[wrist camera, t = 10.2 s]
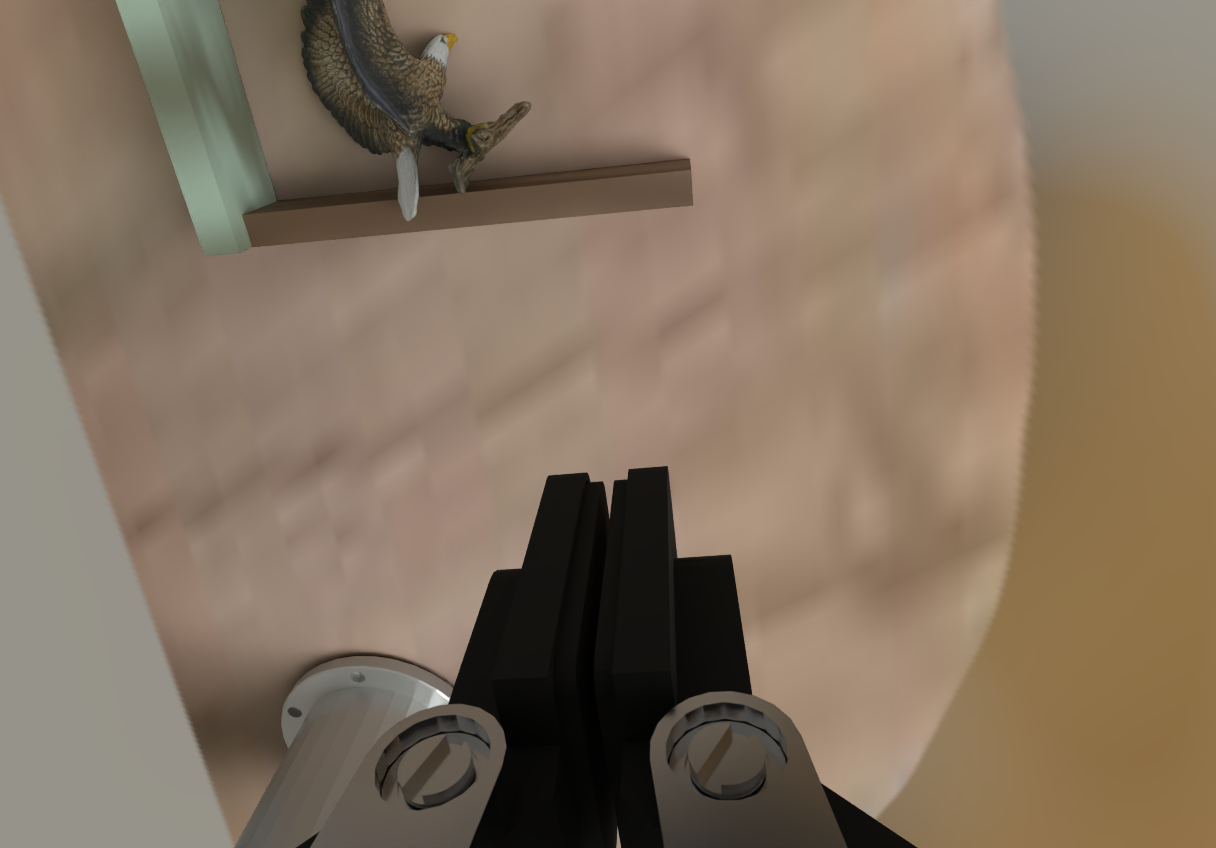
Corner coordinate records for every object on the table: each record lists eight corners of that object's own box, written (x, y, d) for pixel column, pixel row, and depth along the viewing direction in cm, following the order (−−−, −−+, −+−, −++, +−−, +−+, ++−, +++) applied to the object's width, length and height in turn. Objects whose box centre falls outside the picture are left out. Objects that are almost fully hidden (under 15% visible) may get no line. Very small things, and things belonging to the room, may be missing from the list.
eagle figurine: (571, 44, 28) (358, -154, 25) (500, 164, 25) (239, -48, 21) (479, 155, 34) (297, 7, 31) (411, 265, 30) (195, 112, 27)
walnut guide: (691, 191, 31) (693, 210, 28) (254, 234, 34) (204, 256, 30) (671, -165, 26) (670, -197, 23) (154, -85, 28) (80, -103, 25)
